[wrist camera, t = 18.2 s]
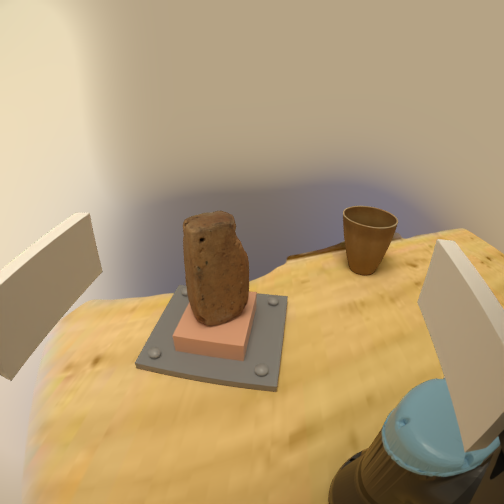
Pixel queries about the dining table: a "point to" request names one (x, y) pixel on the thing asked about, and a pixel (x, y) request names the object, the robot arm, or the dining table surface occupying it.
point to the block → (215, 267)
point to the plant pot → (367, 237)
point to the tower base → (215, 366)
